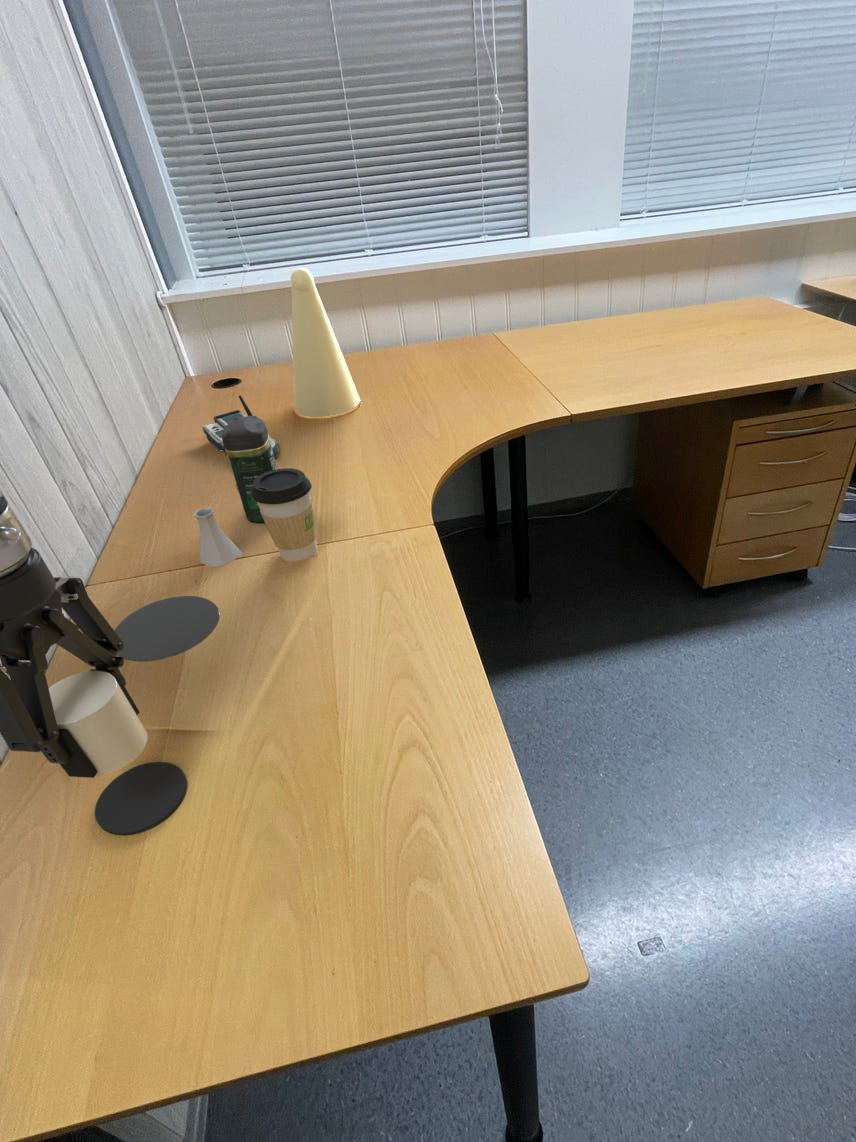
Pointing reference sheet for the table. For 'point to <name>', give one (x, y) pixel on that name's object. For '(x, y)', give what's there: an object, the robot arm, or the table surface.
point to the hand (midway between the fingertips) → (106, 742)
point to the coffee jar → (248, 458)
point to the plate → (167, 627)
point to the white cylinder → (99, 719)
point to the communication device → (222, 421)
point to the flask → (214, 540)
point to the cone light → (317, 355)
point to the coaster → (140, 798)
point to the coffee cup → (287, 511)
